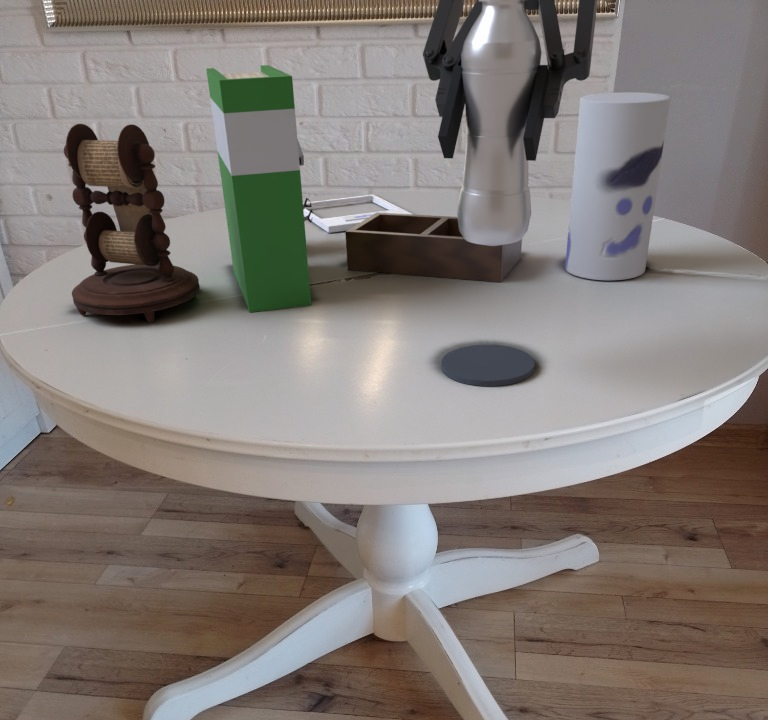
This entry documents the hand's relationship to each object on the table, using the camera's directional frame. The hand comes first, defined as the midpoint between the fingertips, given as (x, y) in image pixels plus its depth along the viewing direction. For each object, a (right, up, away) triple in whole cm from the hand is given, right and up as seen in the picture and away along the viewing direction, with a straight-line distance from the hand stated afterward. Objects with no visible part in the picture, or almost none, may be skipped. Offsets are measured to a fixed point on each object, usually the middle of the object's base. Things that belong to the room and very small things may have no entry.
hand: (486, 148), depth 63 cm
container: (+20, +2, +39) cm, 44 cm away
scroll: (-38, -4, +33) cm, 50 cm away
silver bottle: (+1, -5, +8) cm, 9 cm away
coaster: (+2, -15, +14) cm, 20 cm away
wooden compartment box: (-1, +4, +44) cm, 44 cm away
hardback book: (-23, -1, +38) cm, 44 cm away
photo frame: (-13, +20, +69) cm, 73 cm away
